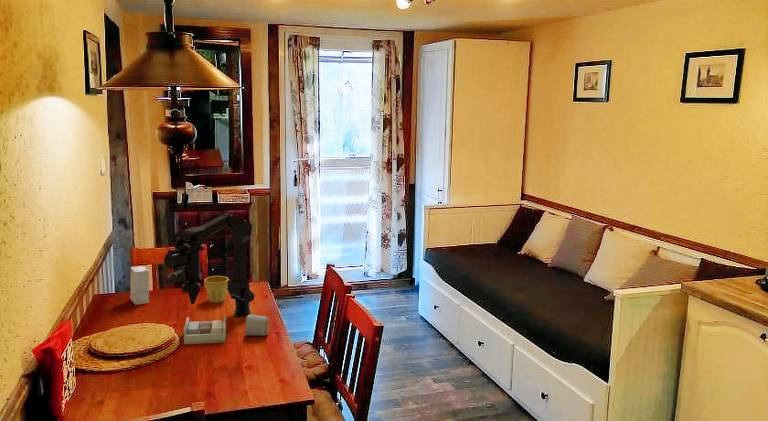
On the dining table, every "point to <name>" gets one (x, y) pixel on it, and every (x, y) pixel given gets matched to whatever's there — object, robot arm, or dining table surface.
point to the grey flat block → (193, 327)
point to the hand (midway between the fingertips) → (192, 303)
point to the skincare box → (139, 285)
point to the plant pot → (216, 288)
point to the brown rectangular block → (205, 327)
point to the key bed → (204, 335)
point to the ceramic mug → (256, 325)
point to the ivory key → (217, 326)
